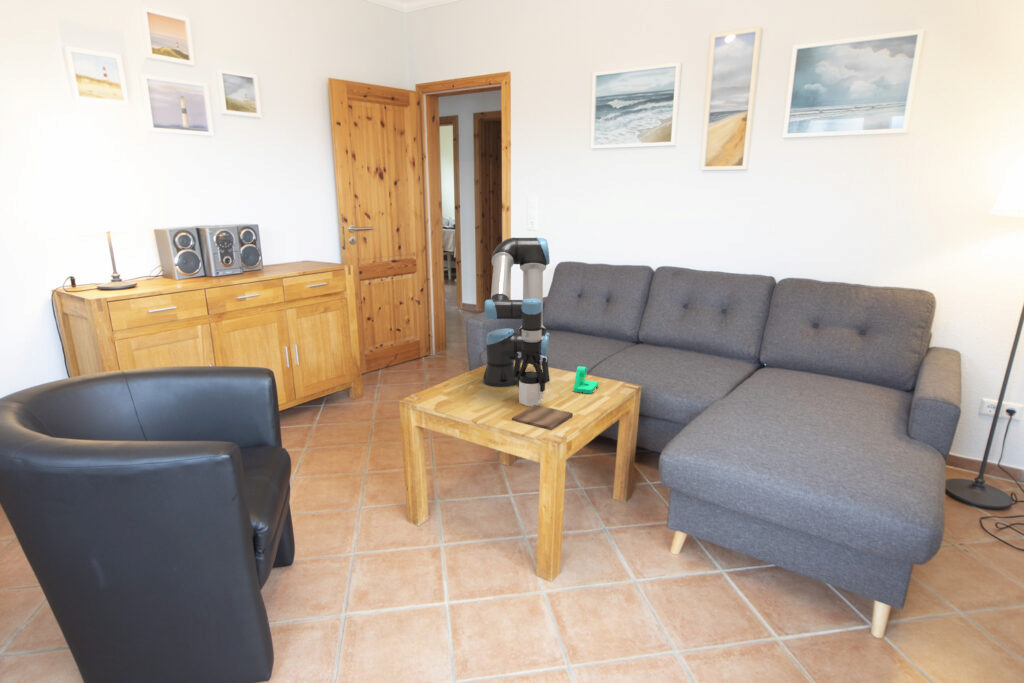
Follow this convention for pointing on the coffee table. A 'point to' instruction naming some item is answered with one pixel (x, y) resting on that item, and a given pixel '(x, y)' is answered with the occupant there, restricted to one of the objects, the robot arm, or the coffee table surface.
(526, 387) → the jar
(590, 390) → the camera mount
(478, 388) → the coffee table surface
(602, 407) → the coffee table surface
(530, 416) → the plinth
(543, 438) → the coffee table surface
